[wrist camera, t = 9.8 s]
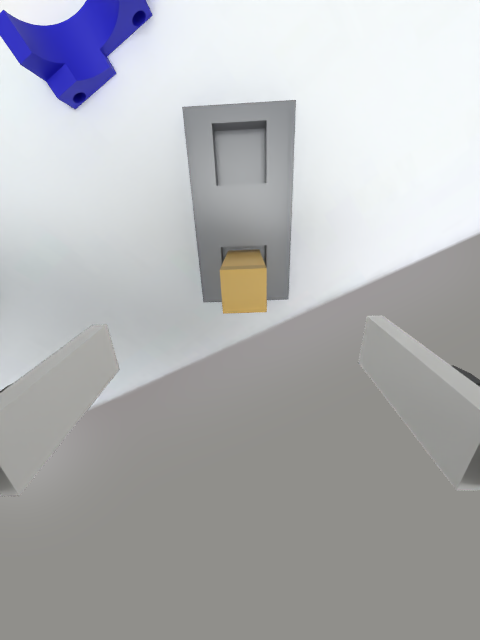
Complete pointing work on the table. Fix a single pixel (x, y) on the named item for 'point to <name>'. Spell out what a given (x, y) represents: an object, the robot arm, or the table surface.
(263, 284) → the plug
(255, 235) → the panel
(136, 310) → the table surface
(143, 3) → the cable clip
